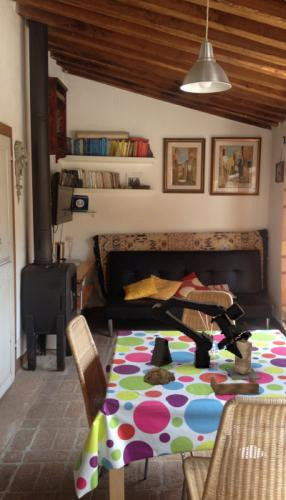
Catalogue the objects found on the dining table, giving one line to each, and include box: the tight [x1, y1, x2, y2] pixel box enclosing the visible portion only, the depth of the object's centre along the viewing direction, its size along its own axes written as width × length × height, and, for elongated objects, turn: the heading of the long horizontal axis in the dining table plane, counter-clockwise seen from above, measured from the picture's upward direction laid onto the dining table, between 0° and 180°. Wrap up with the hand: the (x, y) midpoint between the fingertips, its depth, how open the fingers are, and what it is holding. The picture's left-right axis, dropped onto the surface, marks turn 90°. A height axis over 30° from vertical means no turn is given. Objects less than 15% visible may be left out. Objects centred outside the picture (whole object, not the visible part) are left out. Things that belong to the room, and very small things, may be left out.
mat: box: [225, 367, 261, 381], centre depth 192 cm, size 12×12×1 cm
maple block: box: [233, 340, 253, 374], centre depth 191 cm, size 5×5×13 cm
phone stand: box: [149, 336, 174, 368], centre depth 204 cm, size 9×6×12 cm, turn 132°
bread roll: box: [143, 367, 176, 386], centre depth 186 cm, size 13×12×5 cm
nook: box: [209, 376, 260, 396], centre depth 176 cm, size 17×9×4 cm, turn 93°
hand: (245, 357), depth 190 cm, fingers closed on maple block, 5 cm apart
